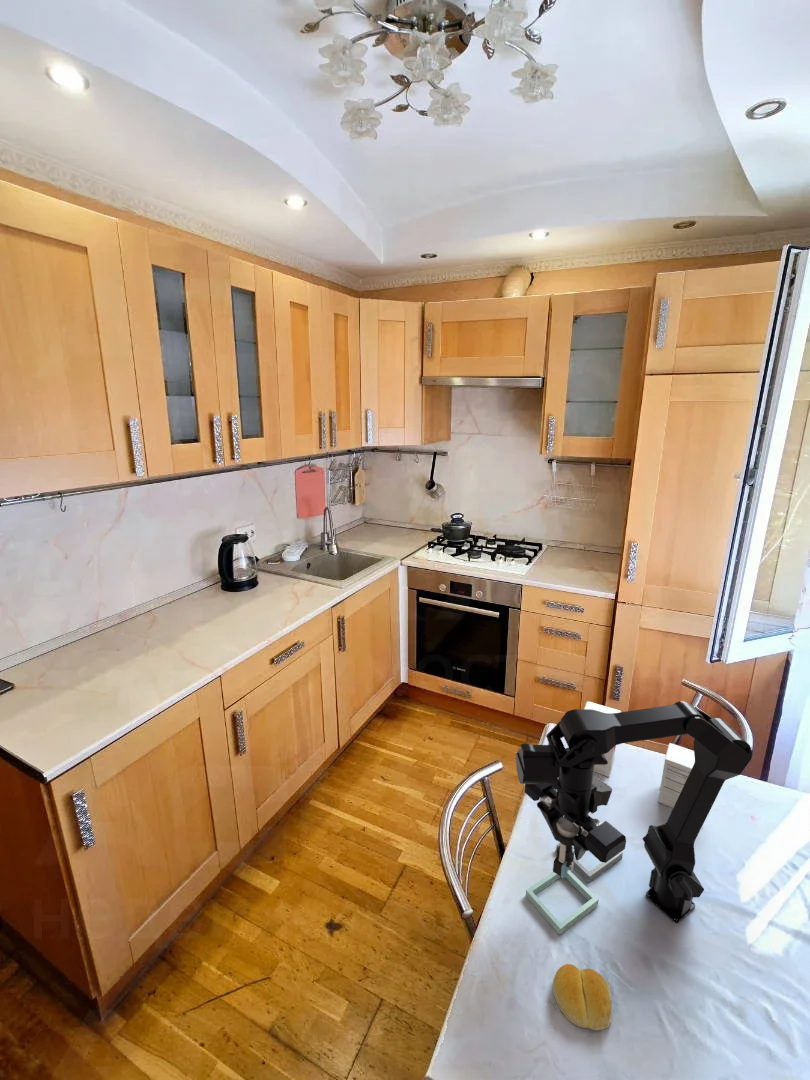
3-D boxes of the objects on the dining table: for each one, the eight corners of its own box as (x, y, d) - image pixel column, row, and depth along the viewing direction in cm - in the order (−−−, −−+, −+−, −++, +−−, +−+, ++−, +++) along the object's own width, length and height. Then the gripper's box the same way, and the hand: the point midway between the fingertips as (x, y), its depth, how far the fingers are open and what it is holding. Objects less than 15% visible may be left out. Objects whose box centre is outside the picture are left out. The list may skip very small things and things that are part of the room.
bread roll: (551, 966, 83) (553, 949, 82) (607, 981, 81) (609, 963, 80) (553, 1023, 76) (555, 1005, 75) (614, 1041, 74) (617, 1023, 73)
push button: (559, 845, 96) (562, 804, 94) (586, 861, 93) (590, 818, 90) (544, 869, 91) (547, 825, 89) (572, 886, 88) (576, 841, 86)
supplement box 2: (662, 783, 124) (669, 741, 120) (695, 796, 120) (703, 753, 116) (656, 802, 118) (664, 758, 115) (691, 816, 114) (700, 771, 110)
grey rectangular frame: (622, 858, 103) (622, 852, 103) (588, 882, 98) (589, 876, 98) (588, 829, 110) (589, 823, 110) (556, 850, 105) (556, 844, 105)
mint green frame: (597, 905, 93) (598, 899, 93) (559, 935, 88) (560, 928, 88) (562, 870, 101) (563, 864, 100) (525, 895, 95) (526, 889, 95)
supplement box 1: (610, 778, 126) (616, 728, 122) (574, 765, 130) (579, 717, 126) (615, 757, 133) (621, 710, 129) (581, 746, 137) (586, 699, 134)
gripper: (650, 796, 83) (639, 867, 87) (565, 735, 99) (558, 798, 103) (609, 823, 78) (598, 898, 82) (525, 755, 93) (520, 820, 97)
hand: (567, 848), depth 91 cm, fingers closed on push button, 5 cm apart
